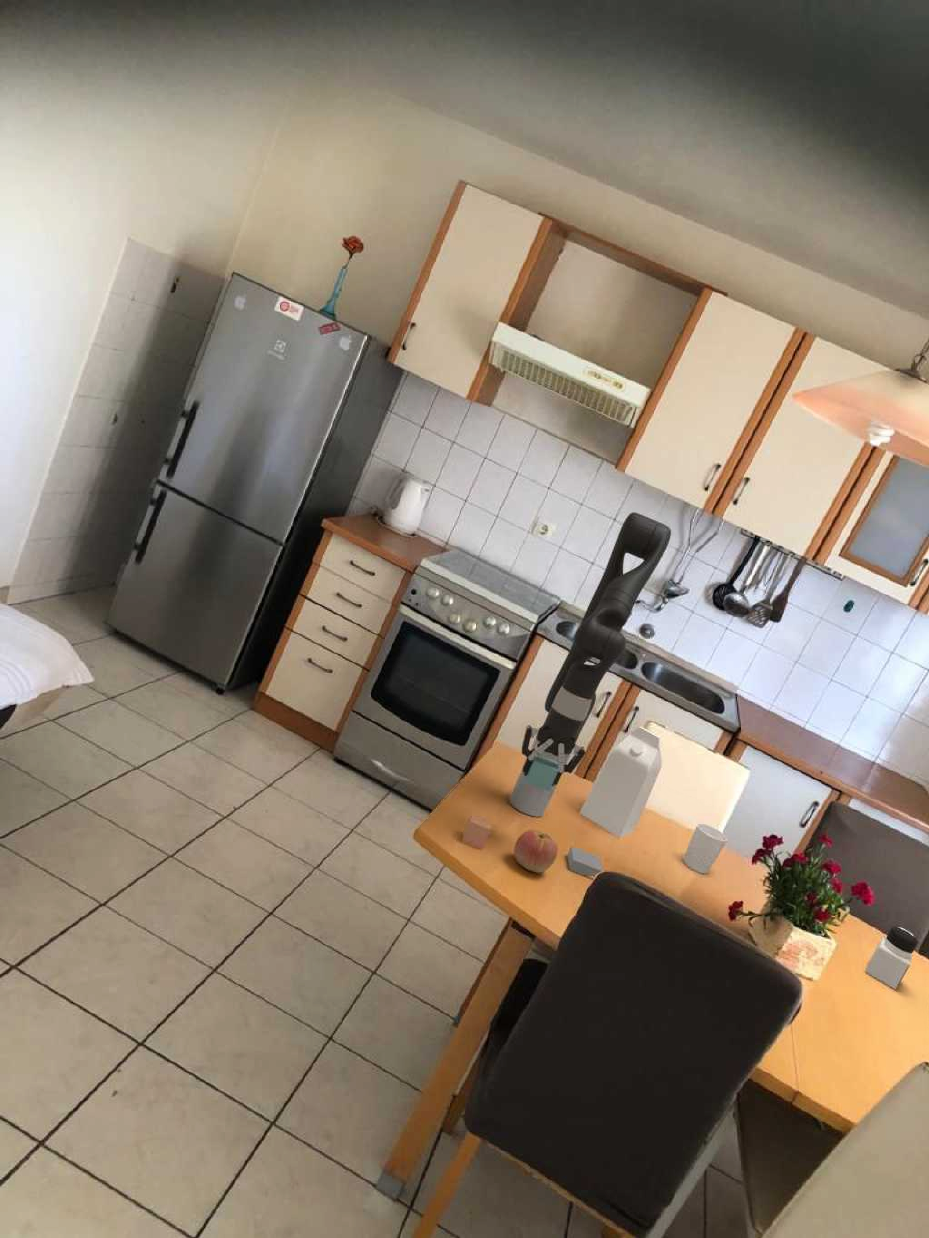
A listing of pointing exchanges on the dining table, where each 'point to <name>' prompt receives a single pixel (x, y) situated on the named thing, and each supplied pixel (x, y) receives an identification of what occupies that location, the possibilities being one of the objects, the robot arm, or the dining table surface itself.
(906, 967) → the medicine bottle
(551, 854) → the apple
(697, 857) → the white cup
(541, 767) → the brick teal
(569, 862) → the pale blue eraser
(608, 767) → the milk
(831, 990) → the dining table surface
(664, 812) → the dining table surface
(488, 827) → the brick terracotta
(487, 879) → the dining table surface
